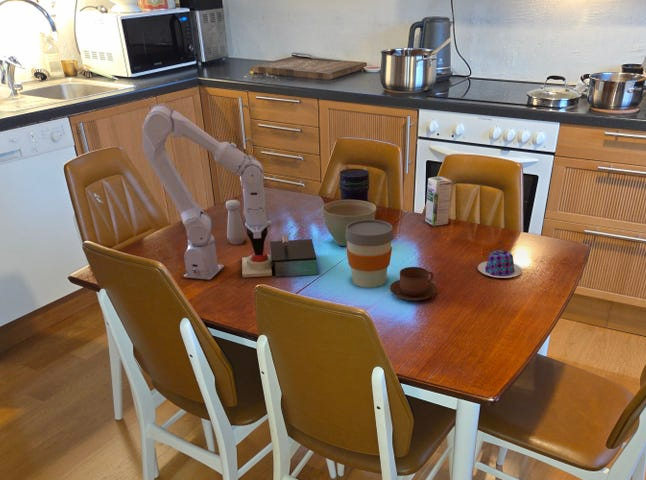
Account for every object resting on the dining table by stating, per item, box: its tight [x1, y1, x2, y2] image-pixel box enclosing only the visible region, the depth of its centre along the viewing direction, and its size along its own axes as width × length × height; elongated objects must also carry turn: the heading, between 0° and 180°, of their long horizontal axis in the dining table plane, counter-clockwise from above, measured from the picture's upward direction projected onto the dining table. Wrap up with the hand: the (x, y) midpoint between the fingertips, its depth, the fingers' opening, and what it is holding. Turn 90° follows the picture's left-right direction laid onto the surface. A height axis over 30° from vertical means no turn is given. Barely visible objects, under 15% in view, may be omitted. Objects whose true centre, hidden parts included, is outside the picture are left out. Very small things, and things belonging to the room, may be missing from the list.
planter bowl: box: [322, 199, 377, 247], centre depth 195 cm, size 16×16×11 cm
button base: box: [241, 253, 274, 278], centre depth 181 cm, size 9×12×3 cm
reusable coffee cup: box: [345, 219, 394, 289], centre depth 170 cm, size 13×13×15 cm
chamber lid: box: [269, 234, 318, 263], centre depth 179 cm, size 12×14×4 cm
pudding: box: [477, 249, 523, 279], centre depth 177 cm, size 12×12×5 cm
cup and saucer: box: [389, 266, 438, 302], centre depth 164 cm, size 12×12×6 cm
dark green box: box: [273, 259, 318, 278], centre depth 181 cm, size 11×14×4 cm
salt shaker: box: [225, 199, 247, 245], centre depth 195 cm, size 6×6×13 cm
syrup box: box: [424, 176, 452, 227], centre depth 209 cm, size 6×6×14 cm
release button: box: [250, 251, 268, 262], centre depth 180 cm, size 4×4×2 cm
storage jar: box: [338, 168, 370, 203], centre depth 214 cm, size 10×10×15 cm
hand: (259, 254), depth 179 cm, fingers closed, pressing on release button
